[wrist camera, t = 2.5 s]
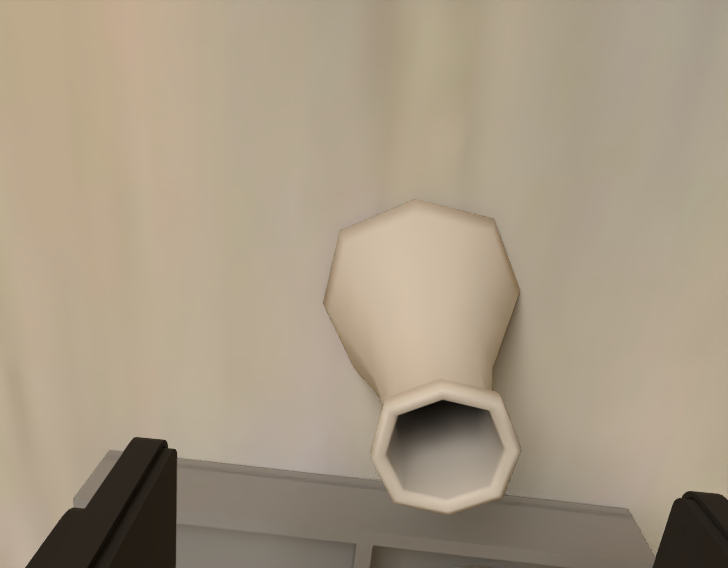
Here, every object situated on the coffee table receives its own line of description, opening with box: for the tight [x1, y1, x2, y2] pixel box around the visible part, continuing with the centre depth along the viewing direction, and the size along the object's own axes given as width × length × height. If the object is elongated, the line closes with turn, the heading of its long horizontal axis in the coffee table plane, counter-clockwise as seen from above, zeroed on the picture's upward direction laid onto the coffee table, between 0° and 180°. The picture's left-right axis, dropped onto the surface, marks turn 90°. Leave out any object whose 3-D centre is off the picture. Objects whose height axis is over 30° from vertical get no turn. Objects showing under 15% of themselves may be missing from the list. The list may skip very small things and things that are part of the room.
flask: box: [323, 199, 521, 515], centre depth 17 cm, size 7×7×10 cm
